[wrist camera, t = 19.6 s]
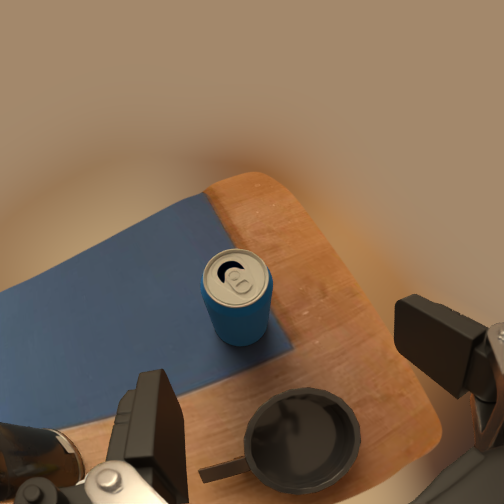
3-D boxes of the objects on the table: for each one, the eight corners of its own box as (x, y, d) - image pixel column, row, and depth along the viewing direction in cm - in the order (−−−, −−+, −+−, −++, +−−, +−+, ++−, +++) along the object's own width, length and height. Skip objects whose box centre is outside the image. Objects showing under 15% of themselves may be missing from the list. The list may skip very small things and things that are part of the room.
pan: (267, 500, 23) (269, 510, 20) (229, 413, 29) (226, 412, 26) (363, 458, 25) (376, 461, 22) (325, 375, 31) (334, 369, 28)
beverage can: (244, 288, 38) (242, 232, 27) (278, 325, 35) (289, 280, 25) (203, 318, 35) (183, 271, 25) (236, 358, 33) (228, 327, 23)
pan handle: (208, 476, 25) (203, 483, 22) (203, 465, 26) (197, 470, 22) (251, 464, 26) (251, 470, 23) (245, 452, 27) (245, 457, 23)
